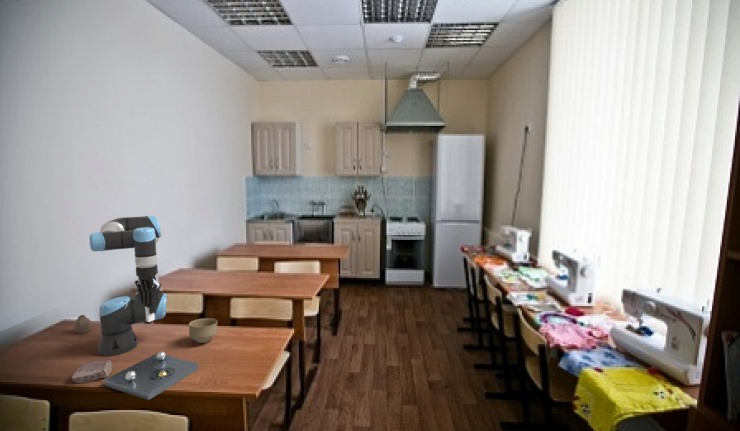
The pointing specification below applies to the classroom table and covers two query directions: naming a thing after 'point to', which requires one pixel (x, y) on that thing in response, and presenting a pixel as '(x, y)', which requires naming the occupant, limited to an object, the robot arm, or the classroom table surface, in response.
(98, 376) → the stone
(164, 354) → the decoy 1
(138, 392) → the plate
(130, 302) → the robot arm
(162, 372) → the brass ball
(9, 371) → the classroom table surface
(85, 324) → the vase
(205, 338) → the bowl
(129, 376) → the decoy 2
